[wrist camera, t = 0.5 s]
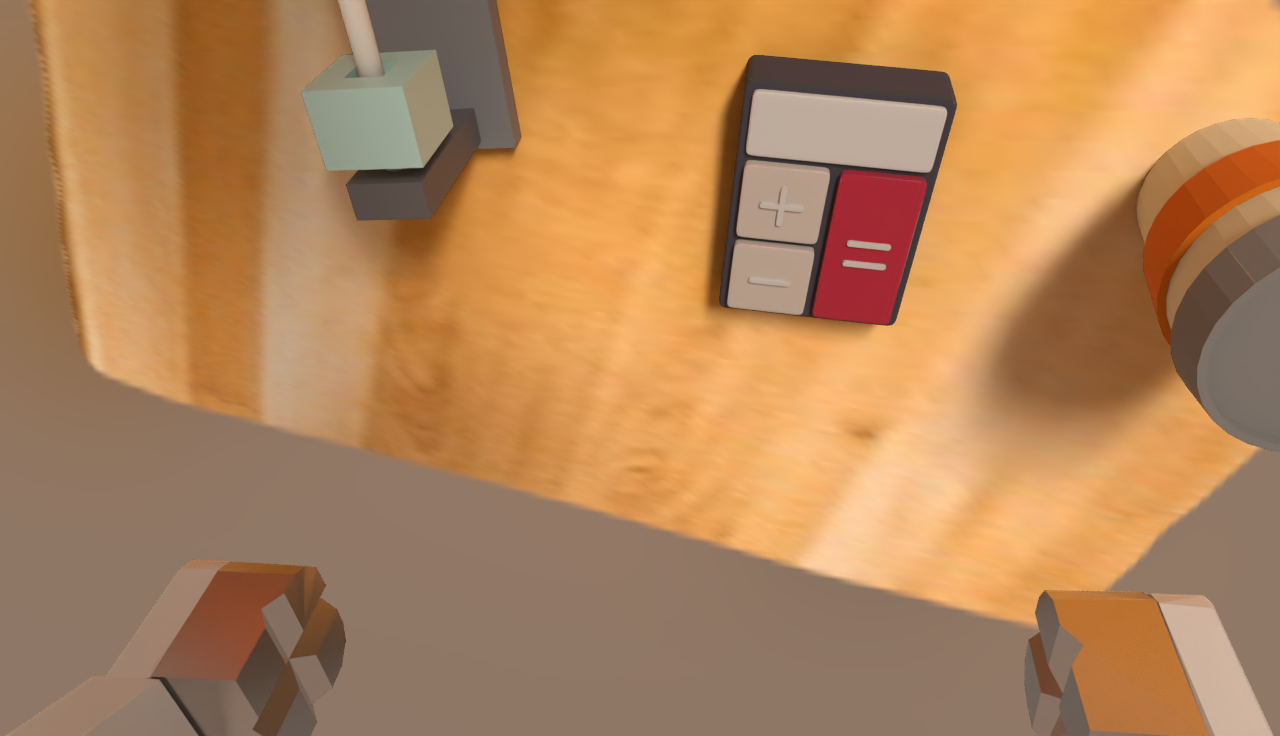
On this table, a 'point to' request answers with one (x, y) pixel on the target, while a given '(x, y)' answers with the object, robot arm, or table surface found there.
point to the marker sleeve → (379, 112)
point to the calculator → (832, 186)
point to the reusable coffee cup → (1220, 270)
